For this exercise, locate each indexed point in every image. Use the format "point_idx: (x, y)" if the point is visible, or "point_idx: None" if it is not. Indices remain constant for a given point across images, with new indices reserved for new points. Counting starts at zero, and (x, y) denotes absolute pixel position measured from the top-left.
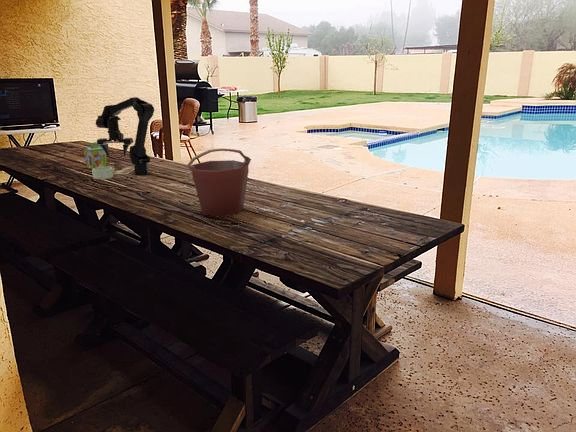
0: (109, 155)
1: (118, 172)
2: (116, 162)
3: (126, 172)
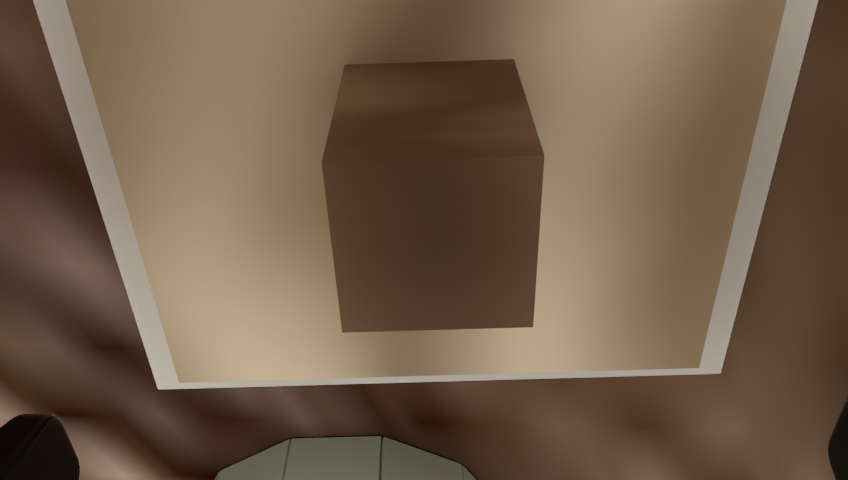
0: (33, 448)
1: (528, 367)
2: (359, 187)
3: (697, 337)
